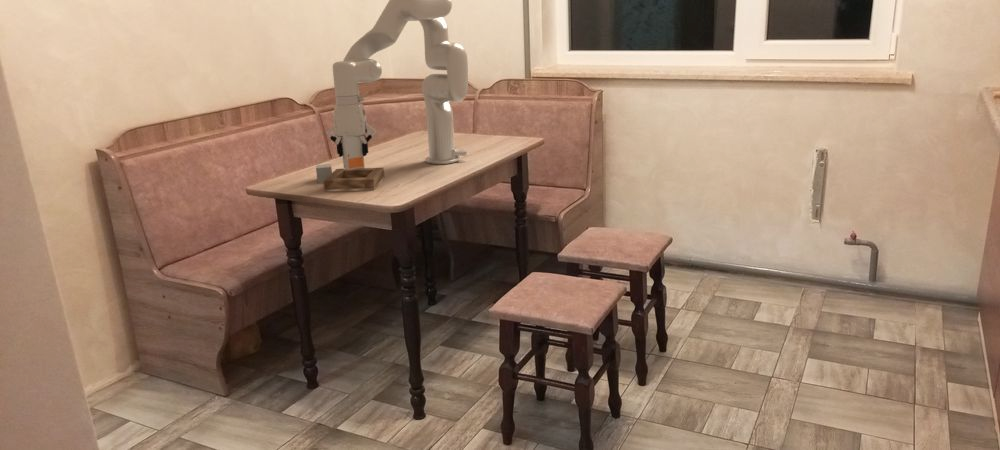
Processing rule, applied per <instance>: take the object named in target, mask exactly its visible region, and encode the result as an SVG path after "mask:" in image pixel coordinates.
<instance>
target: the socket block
mask: <svg viewBox="0 0 1000 450" xmlns="http://www.w3.org/2000/svg"><path fill="white" fill-rule="evenodd" d="M384 179H385V168H384V167H364V168H360V169H351V170H346V169H345V168H336V169H335V170H334V171H332V174H331V175H329V176H328V177H327V178H326V179H325V180H324V182H323V185H324V186H323V187H324V192H352V191H355V192H358V191H360V192H361V191H375V190H376V189H377V188H378V187H379V185H380V184H381V183H382V182H383V180H384Z"/></svg>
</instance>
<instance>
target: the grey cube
mask: <svg viewBox="0 0 1000 450" xmlns="http://www.w3.org/2000/svg"><path fill="white" fill-rule="evenodd" d="M315 170H316V180H317V184H318V183H324V180H325V179H326V178H327V177H328V176H329V175H331V174H332V173H333V168H332V164H331V163H328V164H327V163H326V164H316V165H315Z"/></svg>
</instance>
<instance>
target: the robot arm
mask: <svg viewBox="0 0 1000 450" xmlns="http://www.w3.org/2000/svg"><path fill="white" fill-rule="evenodd" d="M452 5H453V2H452V0H388V2H387V3H386V5H385V7H384V8H383V11H382V12H381V14H380V16H379V17H378V18H377V21H376V22H375V24H374V26H373V27H372V28H371V29H370V30H369V31H367V32H366V33H365V34H364V35H362V37H360V38H359V39H358V40H356V42H355V43H353V45H352V46H350V48H349V50H348V51H347V53H346V55H345V57H344V58H343V60H341V61H336V62H334V63H333V64H332V75H333V77H332V78H333V86H334V96H335V97H334V98H335V105H334V107H333V125H332V126H331V127H330V128H329V129H327V131H325V135H327V136H328V138H330V140H331V141H332V142H333V143H334V144H335V145H336V154H338V157H343V154H342V143H341V138H342V137H343V133H351V134H352V136H359V137H360V138H361V140H362V141H363V144H362V152H363V156H364V157H366V156H367V154H368V153H369V145H368V144H369V142H370V140H371V139H372V138H373V137H374V135H375V134H376V133H377V130H376V128H374V127H372V126H371V125H370V124H368V122H367V116H366V111H365V107H364V104H363V103H361V102H365V96H362V95H361V94H360V89H359V88H360V87H359V84H360V83H367V84H369V83H374V82H376V81H378V80H379V79H380V78H381V76H382V73H383V72H382V71H383V69H382V67H381V65H380V63H379V62H378V61H377V60H375V59H372V58H371V57H372V56H373V55H374V54H376V53H378V52H380V51H382V50H385V49H387V48H390V47H391V46H393V45H395V44H396V42H397V40H398V39H399V37H400V35H401V33H402V32H403V30H404V28H405V26H406V24H407V23H408V22H415V21H417V22H418V21H419V22H420V25H421V26H422V30H423V39H424V40H423V41H424V59H425V60H424V61H425V64H426V66H427V67H428V68H429V69H431V70H435V71H446V73H432V74H429V75H427V76H426V77H425V78H424V79H423V81H422V84H421V86H422V87H421V91H422V94H423V95H422V96H423V98H424V104H425V110H426V124H427V139H428V140H427V141H428V143H427V144H428V153H429V154H428V156H427V157H425V163H426V164H430V165H431V164H432V165H445V164H446V165H448V164H453V163H454V164H455V163H457V162H460V157H467V156H468V150H465V149H463V150H462V149H461V150H458V149H457V146H455V131H454V130H455V129H454V112H453V108H452V105H451V103H460V102H462V101H464V100H465V99H466V98H467V94H468V91H469V74H468V73H469V67H468V64H469V63H468V62H469V61H468V55H467V51H466V49H465V48H464V47H463V46H462V44H459V43H456V42H450V40H449V31H448V25H447V22H446V20H445V18H444V17H446V16H448V15H449V14H450V13H451V11H452ZM333 132H334V134H333ZM368 132H369V133H368ZM367 133H368V135H366V134H367Z"/></svg>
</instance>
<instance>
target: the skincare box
mask: <svg viewBox="0 0 1000 450" xmlns="http://www.w3.org/2000/svg"><path fill="white" fill-rule="evenodd" d="M341 143H342V154H343V156H342V165H343V169H346V170H351V169H360V168H365V156H363V152H362V144H363V141H362V140H361V138H360V137H359V136H352V134H351V133H343V137H342V138H341Z"/></svg>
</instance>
